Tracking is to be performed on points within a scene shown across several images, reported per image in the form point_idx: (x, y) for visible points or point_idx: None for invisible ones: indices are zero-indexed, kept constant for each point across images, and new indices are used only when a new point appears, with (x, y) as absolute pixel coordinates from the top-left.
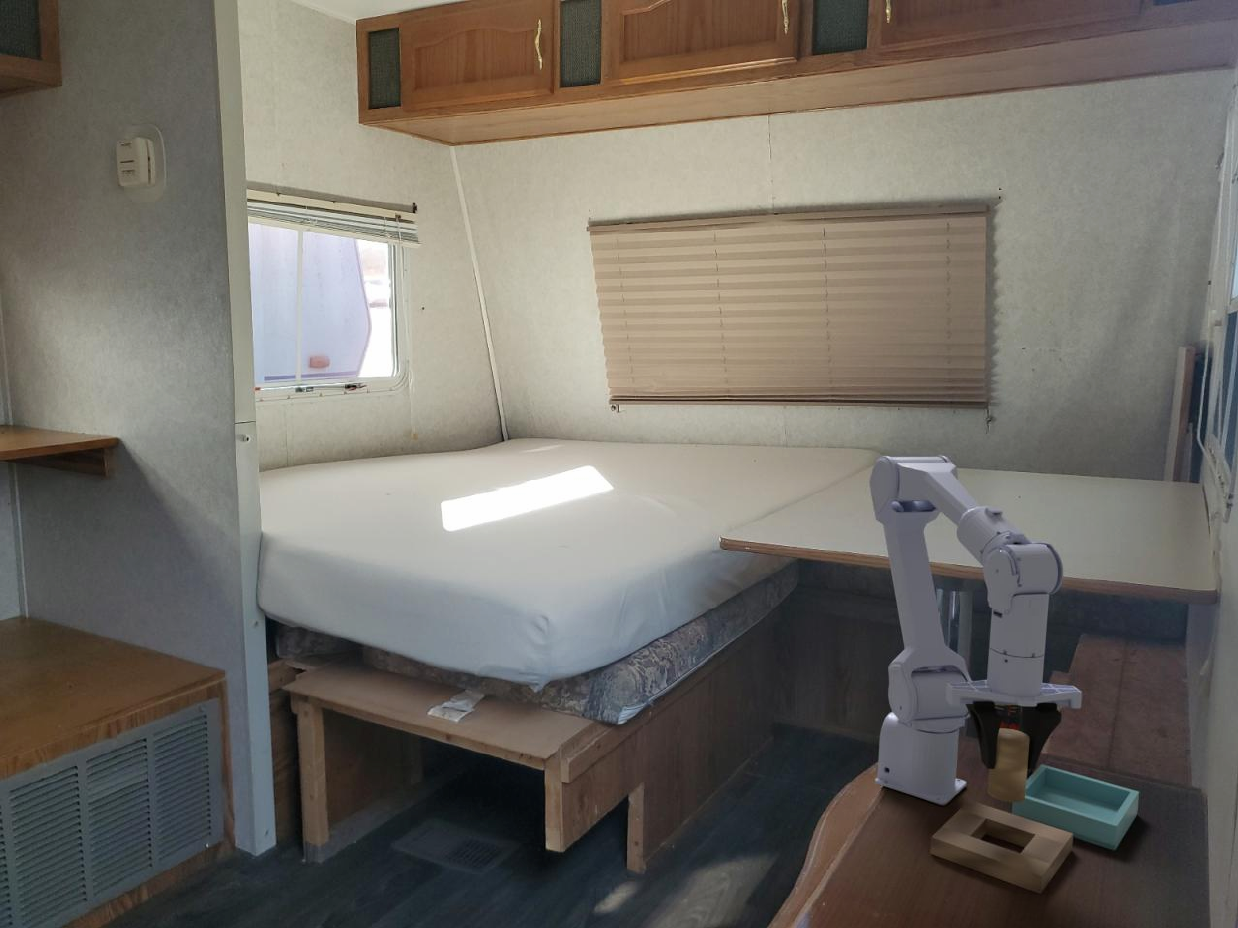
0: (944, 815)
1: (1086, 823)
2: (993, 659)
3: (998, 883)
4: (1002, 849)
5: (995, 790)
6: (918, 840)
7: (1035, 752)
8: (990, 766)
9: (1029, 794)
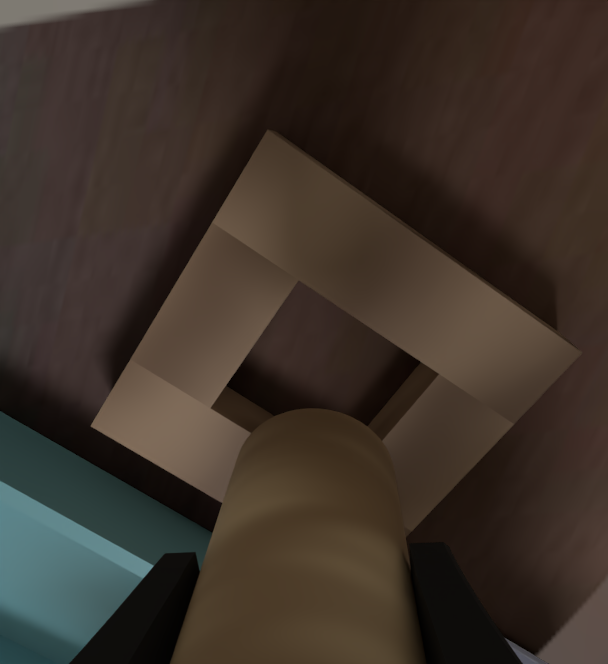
0: (429, 542)
1: (37, 480)
2: None
3: (394, 179)
4: (352, 300)
5: (382, 460)
6: (565, 403)
7: (126, 639)
8: (440, 549)
9: None
